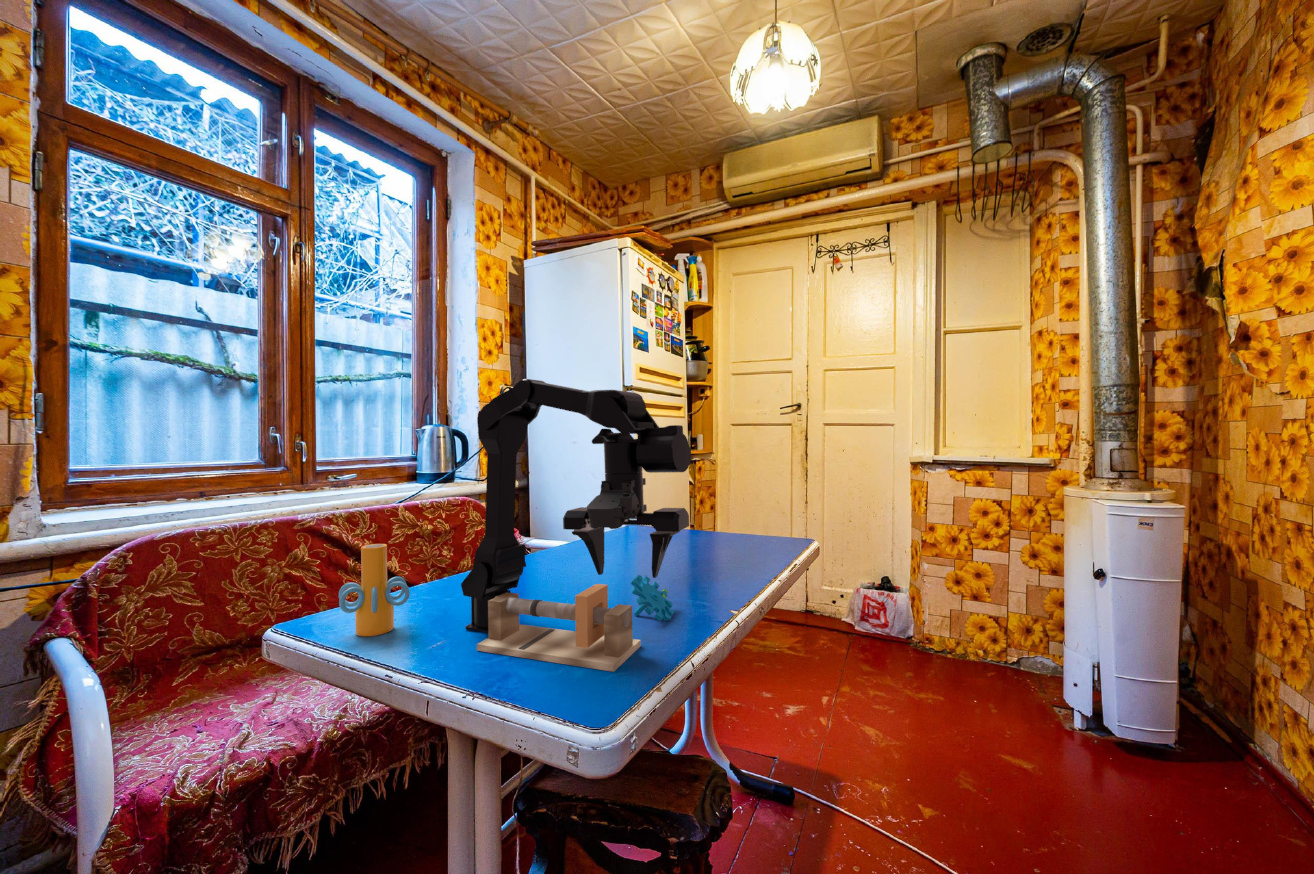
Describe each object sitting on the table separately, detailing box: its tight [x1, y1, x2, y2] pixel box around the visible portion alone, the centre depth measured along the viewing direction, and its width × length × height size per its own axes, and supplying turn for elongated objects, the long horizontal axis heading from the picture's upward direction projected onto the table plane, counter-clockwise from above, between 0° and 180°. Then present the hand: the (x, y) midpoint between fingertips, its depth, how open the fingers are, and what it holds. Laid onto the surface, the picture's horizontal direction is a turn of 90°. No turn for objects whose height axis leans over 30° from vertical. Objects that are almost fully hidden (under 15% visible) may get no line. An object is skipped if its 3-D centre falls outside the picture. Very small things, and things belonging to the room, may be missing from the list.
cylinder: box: [338, 543, 411, 637], centre depth 94 cm, size 12×10×15 cm
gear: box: [630, 574, 675, 622], centre depth 100 cm, size 11×6×10 cm
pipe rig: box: [476, 592, 642, 672], centre depth 85 cm, size 24×10×7 cm, turn 69°
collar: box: [574, 583, 609, 648], centre depth 83 cm, size 2×7×8 cm, turn 159°
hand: (627, 575), depth 81 cm, fingers open, 9 cm apart
